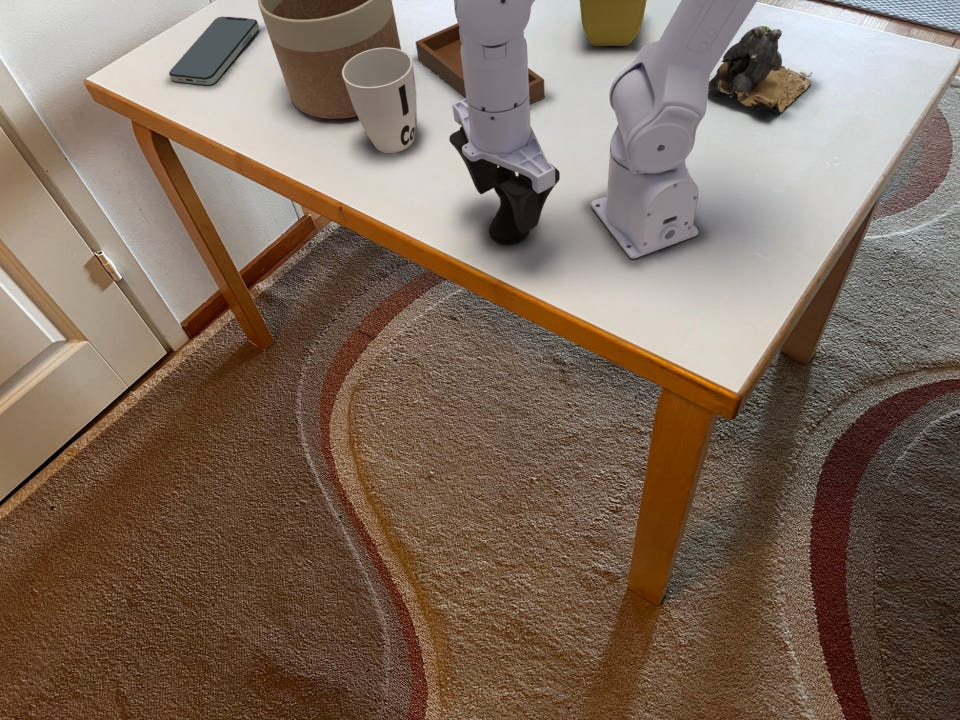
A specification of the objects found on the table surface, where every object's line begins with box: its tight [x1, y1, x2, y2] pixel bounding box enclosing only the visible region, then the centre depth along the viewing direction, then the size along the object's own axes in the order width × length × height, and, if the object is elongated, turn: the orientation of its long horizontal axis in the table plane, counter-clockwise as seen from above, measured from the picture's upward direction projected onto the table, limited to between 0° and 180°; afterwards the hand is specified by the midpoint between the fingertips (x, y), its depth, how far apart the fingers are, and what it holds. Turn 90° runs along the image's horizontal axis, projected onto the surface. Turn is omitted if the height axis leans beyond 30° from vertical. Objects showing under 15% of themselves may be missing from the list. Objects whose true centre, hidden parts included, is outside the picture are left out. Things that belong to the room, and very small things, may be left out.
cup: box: [342, 48, 418, 154], centre depth 86 cm, size 8×8×10 cm
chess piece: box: [488, 165, 530, 246], centre depth 74 cm, size 4×4×10 cm
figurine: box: [708, 25, 814, 119], centre depth 84 cm, size 10×10×10 cm
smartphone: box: [168, 16, 260, 86], centre depth 105 cm, size 8×2×15 cm
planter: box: [257, 0, 402, 120], centre depth 92 cm, size 16×16×14 cm
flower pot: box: [579, 0, 648, 47], centre depth 95 cm, size 9×9×9 cm
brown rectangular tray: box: [415, 22, 546, 105], centre depth 95 cm, size 19×8×3 cm, turn 34°
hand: (507, 208), depth 76 cm, fingers open, 7 cm apart
